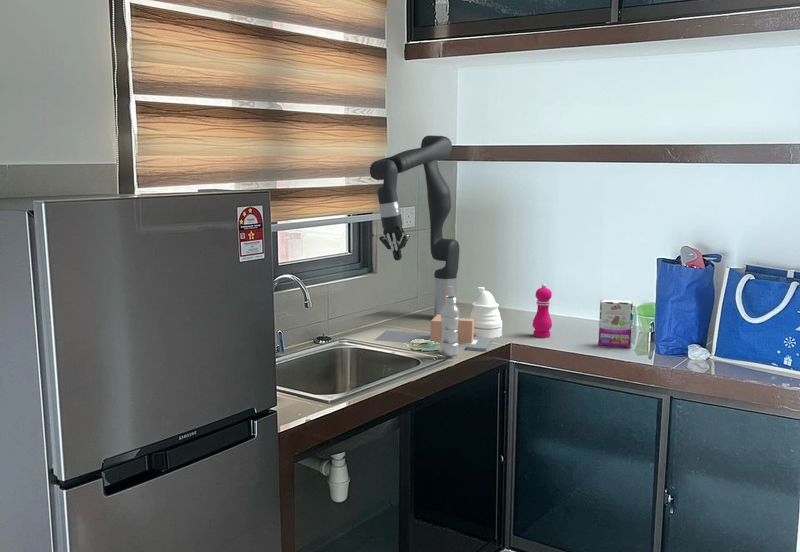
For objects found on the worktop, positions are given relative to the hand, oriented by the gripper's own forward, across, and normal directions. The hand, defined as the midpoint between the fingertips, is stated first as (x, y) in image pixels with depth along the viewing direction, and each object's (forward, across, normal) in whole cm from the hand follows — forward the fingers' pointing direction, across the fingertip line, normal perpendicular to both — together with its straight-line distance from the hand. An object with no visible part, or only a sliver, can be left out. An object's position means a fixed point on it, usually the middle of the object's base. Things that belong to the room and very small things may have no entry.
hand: (398, 259), depth 286 cm
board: (+29, -16, +8) cm, 34 cm away
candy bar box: (+40, -69, -26) cm, 84 cm away
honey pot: (+33, -24, -14) cm, 43 cm away
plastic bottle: (+28, -31, +23) cm, 48 cm away
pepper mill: (+37, -42, -25) cm, 61 cm away
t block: (+29, -22, +6) cm, 37 cm away
